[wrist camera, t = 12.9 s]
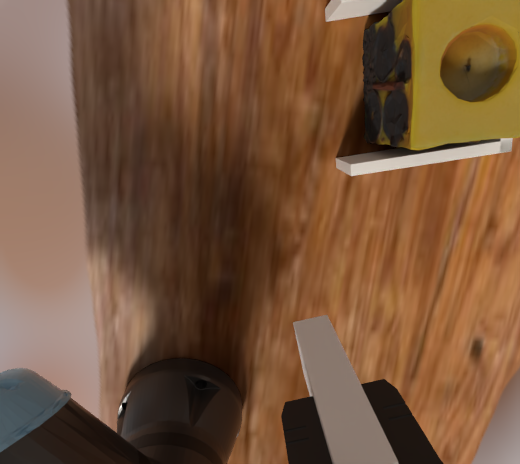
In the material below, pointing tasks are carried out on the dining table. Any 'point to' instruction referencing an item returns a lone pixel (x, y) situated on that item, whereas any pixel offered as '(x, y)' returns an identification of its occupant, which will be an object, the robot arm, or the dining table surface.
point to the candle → (443, 73)
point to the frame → (366, 3)
